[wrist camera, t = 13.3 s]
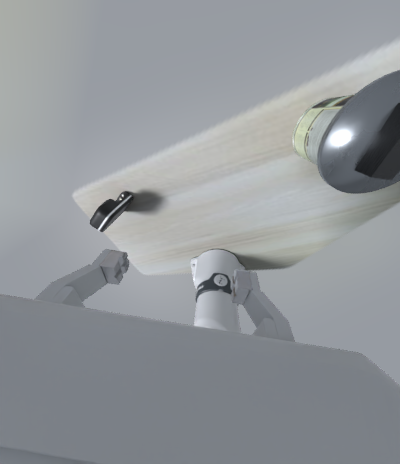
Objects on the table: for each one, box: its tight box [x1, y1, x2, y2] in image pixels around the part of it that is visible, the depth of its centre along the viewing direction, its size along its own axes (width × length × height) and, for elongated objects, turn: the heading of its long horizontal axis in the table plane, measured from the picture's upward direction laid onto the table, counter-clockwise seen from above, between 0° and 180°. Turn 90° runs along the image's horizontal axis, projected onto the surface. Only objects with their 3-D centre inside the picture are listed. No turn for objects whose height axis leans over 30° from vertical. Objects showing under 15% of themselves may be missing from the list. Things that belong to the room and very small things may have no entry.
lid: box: [317, 70, 400, 193], centre depth 19 cm, size 13×13×4 cm
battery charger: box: [90, 192, 133, 232], centre depth 41 cm, size 7×4×11 cm, turn 137°
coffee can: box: [292, 95, 354, 165], centre depth 26 cm, size 10×10×14 cm
